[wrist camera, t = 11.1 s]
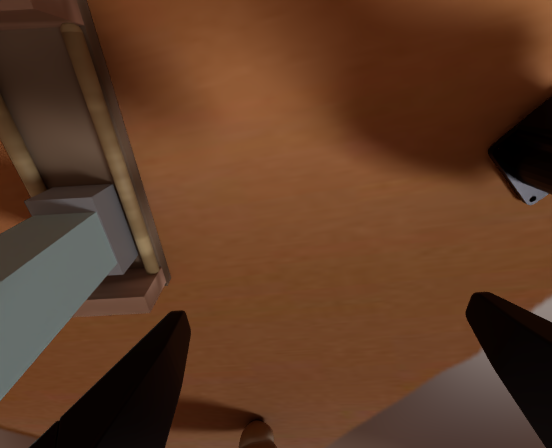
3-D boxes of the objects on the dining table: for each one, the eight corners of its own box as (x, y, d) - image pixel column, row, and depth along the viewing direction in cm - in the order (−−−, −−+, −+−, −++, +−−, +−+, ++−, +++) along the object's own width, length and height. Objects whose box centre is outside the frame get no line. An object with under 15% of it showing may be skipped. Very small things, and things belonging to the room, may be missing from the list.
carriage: (53, 187, 18) (-346, 375, 6) (113, 183, 18) (-177, 366, 6) (86, 257, 21) (-149, 480, 9) (138, 254, 21) (-31, 474, 9)
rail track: (-42, 0, 15) (-159, -31, 11) (84, -7, 15) (14, -42, 11) (94, 282, 24) (59, 322, 20) (171, 278, 24) (151, 316, 20)
